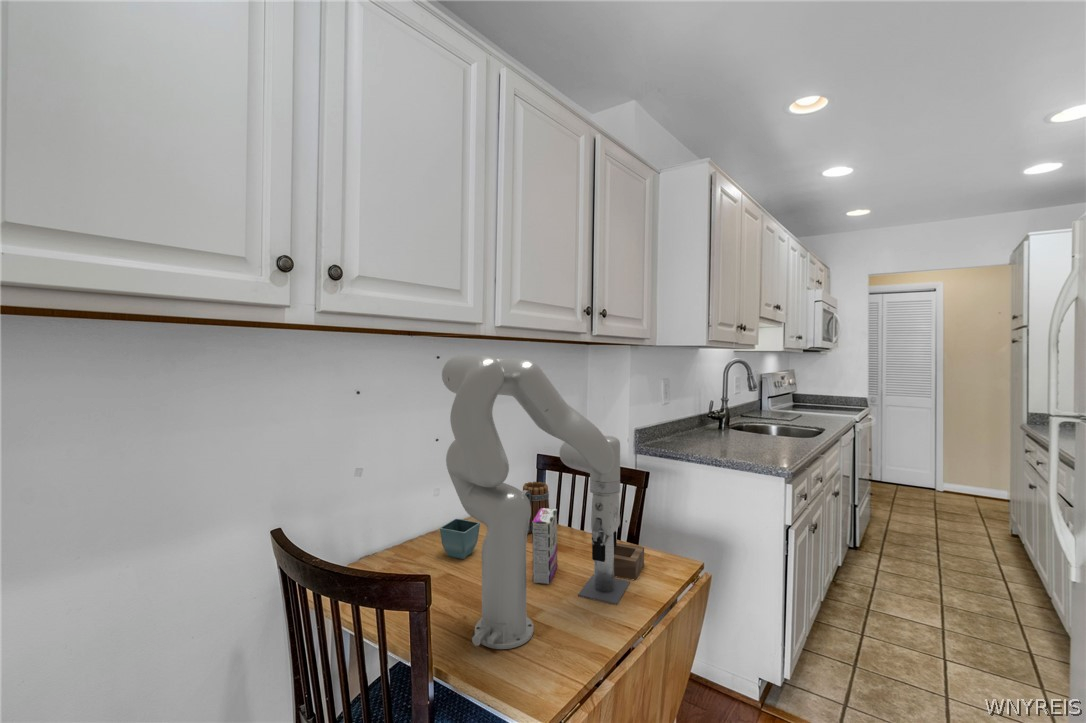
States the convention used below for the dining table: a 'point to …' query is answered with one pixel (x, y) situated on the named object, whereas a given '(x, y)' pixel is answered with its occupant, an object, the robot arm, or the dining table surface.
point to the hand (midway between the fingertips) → (604, 552)
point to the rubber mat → (608, 597)
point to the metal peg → (605, 567)
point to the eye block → (628, 560)
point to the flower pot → (459, 537)
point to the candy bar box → (544, 545)
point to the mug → (536, 498)
